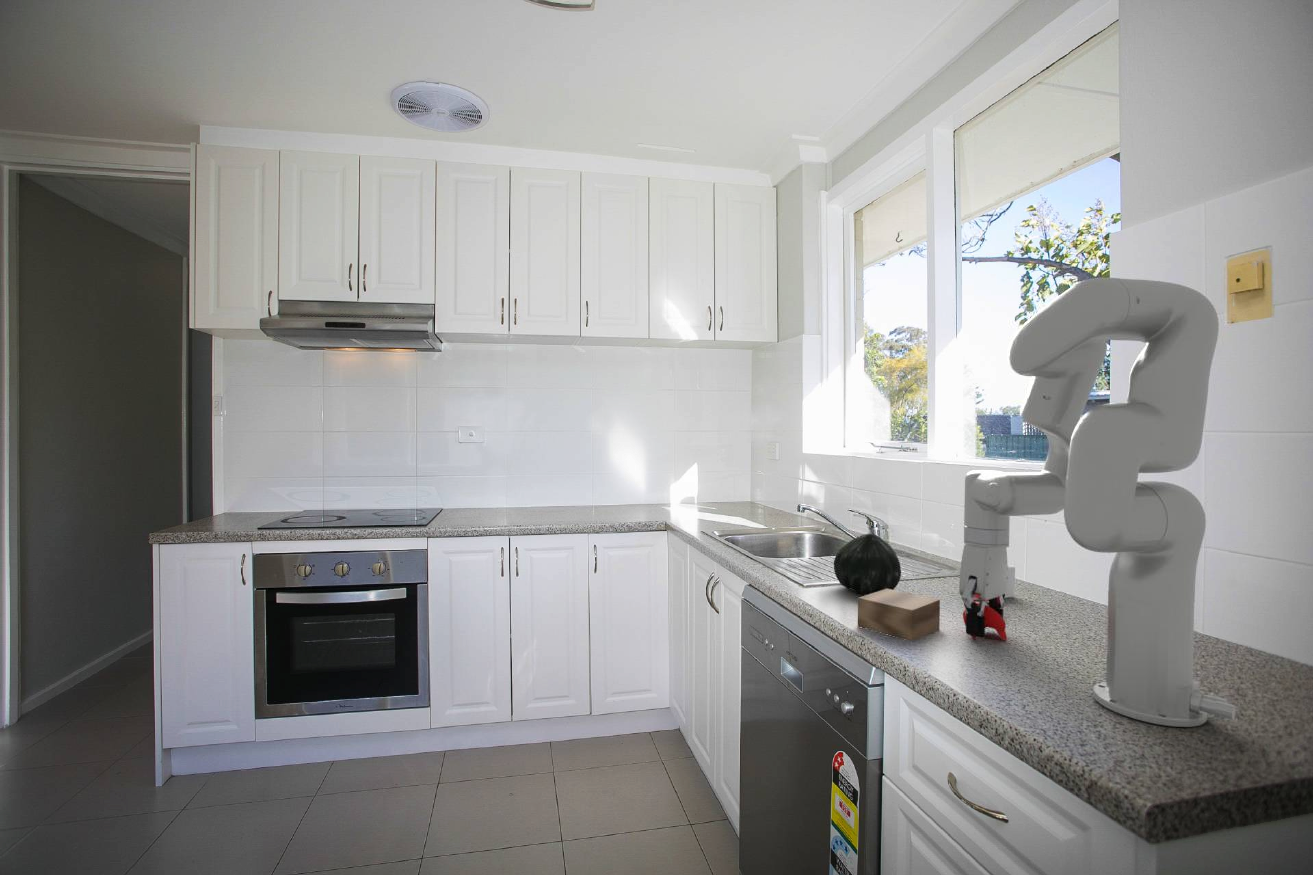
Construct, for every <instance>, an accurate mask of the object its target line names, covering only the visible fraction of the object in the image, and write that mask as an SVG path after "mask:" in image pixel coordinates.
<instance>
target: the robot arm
mask: <svg viewBox="0 0 1313 875" xmlns="http://www.w3.org/2000/svg"><path fill="white" fill-rule="evenodd" d="M1219 326H1220V323H1219V317H1218V313H1217V311H1216V309H1215V307H1214V305H1213V304H1212V302H1211V300H1209V299H1208V298H1207V297H1206V296H1205V295H1204V294H1202V293H1201V292H1199V291H1197V290H1195V289H1193V288H1191V287H1188V286H1186V285H1182V284H1180V283H1179V284H1177V283H1173V282H1168V281H1160V280H1151V279H1149V280H1148V279H1135V278H1134V279H1133V278H1132V279H1131V278H1121V277H1119V278H1118V277H1102V276H1101V277H1092V278H1088V279H1085V280H1083V281H1081V282H1080V281H1079V282H1078V283H1076V284H1074V285H1072V286H1071V287H1069V288H1068V289H1067V290H1065V291H1064V292H1062V293H1061V294H1060V295H1058V296H1057V297H1056V298H1055V299H1053V300H1052V301H1051V302H1050V303H1048V304H1047V305H1046V306H1044V307H1043V308H1042V309H1040V310H1039V311H1038V312H1036V313H1035V314H1033V316H1031V318H1029V319H1028V320H1027V321H1026V322H1025V323H1024V324H1022V325H1021V326H1020V328H1019V329H1018V330H1017V331H1016V332H1015V334H1014V335H1013V337H1012V338H1011V340H1010V343H1009V346H1008V348H1007V361H1008V365H1009V366H1010V368H1011V369H1012V371H1013V372H1014V373H1016V374H1018V375H1021V376H1024V377H1032V378H1031V379H1030V383H1029V384H1028V385H1029V386H1028V388H1027V391H1026V394H1025V396H1024V399H1023V403H1022V404H1021V407H1020V411H1019V414H1020V417H1021V419H1022V420H1023V421H1024V422H1025V423H1027V424H1028V425H1029V426H1030V427H1032V428H1035V429H1037V430H1039V431H1041V432H1043V433H1044V435H1046V436H1045V437H1046V438H1047V441H1048V452H1047V453H1048V454H1047V456H1046V459H1045V462H1044V465H1043V467H1042V470H1041V471H1038V472H1037V471H1027V472H1026V471H1025V472H1024V471H1022V472H1021V471H1020V472H1005V471H1000V470H987V469H976V470H971V471H968V472H967V473H966V474H965V477H964V507H963V508H964V516H963V518H964V519H963V521H964V523H963V543H964V544H963V549H962V554H961V555H962V556H961V562H960V571H959V589H958V590H959V595H960V596H961V600H962V602H963V605H964V610H965V613H966V625H965V633H966V635H969V636H971V635H972V636H976V638H979V639H983V638H985V636H986V628H985V616H983V612H984V607H985V602H987V605H989V606H988V607H990V608H992V609H994V610H995V611H996V612H998V613H999V614H1000V615H1001V617H1002V618H1003V619H1004V607H1005V602H1004V599H1005V598H1004V597H1005V593H1006V591H1007V583H1008V565H1009V564H1008V552H1007V550H1008V549H1007V548H1009V547H1010V523H1011V521H1010V520H1011V519H1010V517H1017V516H1018V517H1020V516H1021V517H1023V516H1024V517H1025V516H1038V515H1039V516H1044V515H1045V516H1047V515H1054V514H1057V513H1059V512H1062V511H1063V518H1064V523H1065V527H1066V529H1067V532H1068V534H1069V535H1070V538H1071V539H1072V540H1073V541H1074V542H1075V543H1076V544H1077V545H1079V546H1080V547H1082V548H1084V549H1085V550H1087V551H1092V552H1095V553H1100V554H1101V553H1102V554H1103V553H1107V554H1110V553H1115V555H1114V558H1113V560H1112V563H1111V566H1110V570H1109V573H1108V574H1109V576H1108V588H1107V627H1106V628H1107V629H1106V630H1107V632H1106V636H1107V637H1106V678H1105V680H1106V681H1102V682H1099V683H1095V685H1094V686H1093V688H1092V696H1093V698H1094V699H1095V701H1096V702H1097V703H1099V704H1100V705H1102V706H1103V707H1105V708H1106V709H1108V710H1110V711H1113V712H1114V713H1117V714H1120V715H1121V716H1125V717H1128V718H1131V719H1134V720H1138V721H1141V722H1146V723H1150V724H1154V725H1161V726H1167V727H1175V728H1176V727H1177V728H1178V727H1179V728H1193V727H1194V728H1195V727H1198V726H1202V725H1203V724H1205V723H1206V722H1207V720H1208V714H1211V715H1214V716H1215V717H1219V718H1222V719H1224V720H1225V719H1226V720H1229V721H1234V720H1235V717H1236V705H1234V704H1230V703H1228V700H1227V698H1223V697H1219V696H1216V695H1214V696H1213V695H1210V694H1209V695H1208V694H1206V693H1205V691H1203V690H1200V681H1198V680H1195V679H1194V678H1193V676H1194V675H1193V674H1194V636H1195V635H1194V634H1195V633H1194V631H1195V601H1196V600H1195V598H1196V595H1195V594H1196V579H1197V578H1196V575H1197V566H1198V560H1199V556H1200V552H1201V548H1202V544H1203V540H1204V537H1205V532H1206V522H1207V521H1206V513H1205V510H1204V507H1203V505H1202V503H1201V502H1200V499H1198V498H1197V497H1196V496H1195V494H1193V493H1192V492H1190V491H1189V490H1188V489H1187V488H1184V487H1182V486H1180V485H1177V484H1174V483H1170V482H1165V481H1157V480H1156V481H1155V480H1154V481H1153V480H1150V481H1147V480H1146V481H1142V480H1140V481H1138V477H1139V474H1156V473H1159V474H1162V473H1171V472H1172V473H1173V472H1178V471H1181V470H1184V469H1186V468H1188V467H1190V466H1192V464H1194V462H1196V460H1197V459H1198V457H1199V455H1200V451H1201V447H1202V442H1203V434H1204V426H1205V417H1206V409H1207V403H1208V394H1209V384H1210V382H1209V381H1210V375H1211V368H1212V365H1213V364H1212V363H1213V359H1214V355H1215V351H1216V347H1217V343H1218V339H1219V338H1218V337H1219ZM1107 341H1133V342H1134V341H1135V342H1141V343H1144V344H1146V345H1145V347H1144V348H1143V349H1142V351H1141V352H1140V353H1139V354H1138V356H1137V358H1136V360H1135V361H1134V363H1133V365H1132V367H1131V369H1130V373H1129V378H1128V379H1129V380H1128V391H1127V397H1126V400H1125V402H1110V403H1104V404H1100V405H1096V406H1095V407H1092V408H1091V409H1089V410H1087V412H1086V413H1084V414H1083V412H1084V410H1085V407H1086V405H1087V403H1088V400H1089V397H1090V395H1091V393H1092V390H1093V388H1094V386H1095V383H1096V380H1097V378H1098V376H1099V373H1100V371H1101V368H1102V366H1103V363H1104V360H1105V358H1106V355H1107V351H1108V346H1107V344H1108V342H1107ZM1082 414H1083V415H1082ZM974 594H975V595H980V596H981V597H980V598H978V597H973V595H974ZM973 601H976V602H979V607H978V606H977V604H976V603H975V602H973ZM987 605H986V606H987ZM988 628H991V627H988ZM991 629H992V628H991Z"/></svg>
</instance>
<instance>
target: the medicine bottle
mask: <svg viewBox="0 0 1313 875" xmlns="http://www.w3.org/2000/svg"><path fill="white" fill-rule="evenodd" d="M1007 565H1008V583H1007V591H1006V593H1005V597H1004V599H1007V598H1008V599H1009V598H1014V597H1015V596H1016V595H1015V593H1016V588H1015V587H1016V568H1015V566H1013V565H1010V564H1007Z"/></svg>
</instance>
